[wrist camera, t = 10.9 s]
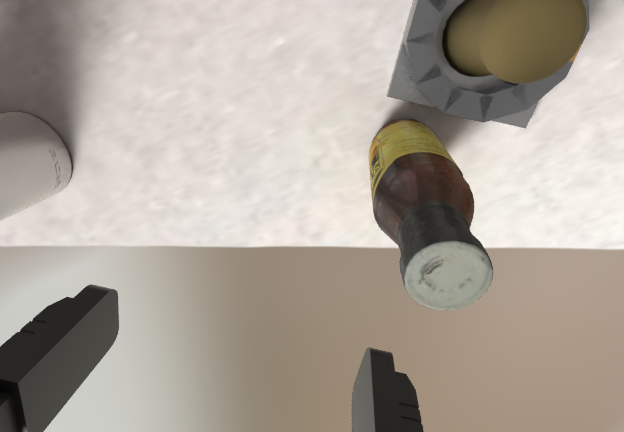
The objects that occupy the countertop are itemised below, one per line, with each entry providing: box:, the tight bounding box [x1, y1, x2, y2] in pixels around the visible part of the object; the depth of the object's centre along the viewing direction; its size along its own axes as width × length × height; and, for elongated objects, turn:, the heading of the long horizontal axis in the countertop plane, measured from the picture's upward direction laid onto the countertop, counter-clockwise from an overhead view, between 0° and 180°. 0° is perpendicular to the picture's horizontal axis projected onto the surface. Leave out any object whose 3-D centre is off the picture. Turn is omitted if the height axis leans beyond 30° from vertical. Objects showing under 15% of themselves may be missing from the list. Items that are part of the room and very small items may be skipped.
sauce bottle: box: [369, 119, 493, 310], centre depth 26 cm, size 6×6×20 cm
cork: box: [442, 0, 587, 84], centre depth 24 cm, size 6×6×11 cm
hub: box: [387, 0, 589, 128], centre depth 28 cm, size 12×12×4 cm
